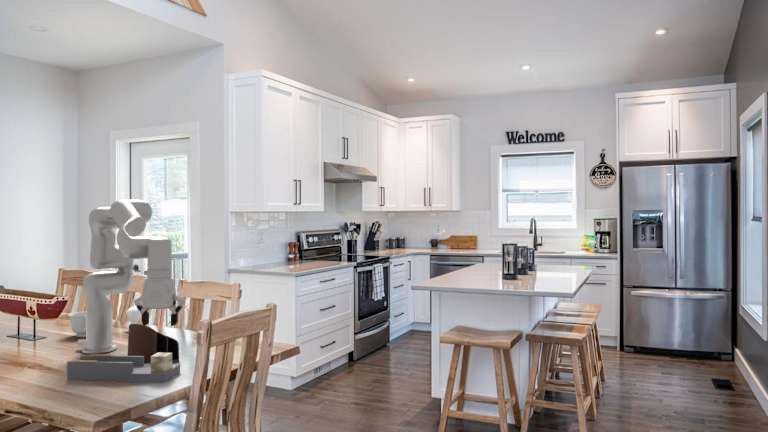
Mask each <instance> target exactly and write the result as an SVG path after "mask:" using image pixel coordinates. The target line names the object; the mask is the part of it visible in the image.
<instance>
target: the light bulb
mask: <svg viewBox="0 0 768 432" xmlns="http://www.w3.org/2000/svg"><path fill="white" fill-rule="evenodd" d="M126 317H127V319H128V320H129V325H130V324H139V321H140V320H141V318H142V314H141V313H140V311H139V310H138V309H137V306H131V307H129V308H128V309H127V311H126Z"/></svg>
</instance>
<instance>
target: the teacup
mask: <svg viewBox="0 0 768 432" xmlns="http://www.w3.org/2000/svg"><path fill="white" fill-rule="evenodd" d="M67 316H68V318H69V320H70V321H69V322H70V328H71V331H72V332H73V333H74V334H75V337H79V338H83V337H85V338H86V310H83V311H82V310H81V311H75V312H70V313H68V314H67Z"/></svg>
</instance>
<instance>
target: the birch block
mask: <svg viewBox="0 0 768 432" xmlns="http://www.w3.org/2000/svg"><path fill="white" fill-rule="evenodd" d="M172 364H173V363H172V353H162V352H158V353H156V354H154V355H152V356H151V371H162V372H165V371H167V370H169V369H170V368H172Z"/></svg>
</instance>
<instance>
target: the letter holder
mask: <svg viewBox="0 0 768 432" xmlns="http://www.w3.org/2000/svg"><path fill="white" fill-rule="evenodd" d="M158 352H162V353H172V364H177V363H178V362H180V344H179V341H178V340H177V339H175V338H173V337H171V336H168V335H165V334H163V333H161V332H159V331H156V330H155V329H154V328H152V327H150V326H147V325H145V326H143V324H141V323H138V324H130V323H129V325H128V338H127V356H144V365H145V364H146V363H151V356H152V355H154V354H156V353H158Z"/></svg>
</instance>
